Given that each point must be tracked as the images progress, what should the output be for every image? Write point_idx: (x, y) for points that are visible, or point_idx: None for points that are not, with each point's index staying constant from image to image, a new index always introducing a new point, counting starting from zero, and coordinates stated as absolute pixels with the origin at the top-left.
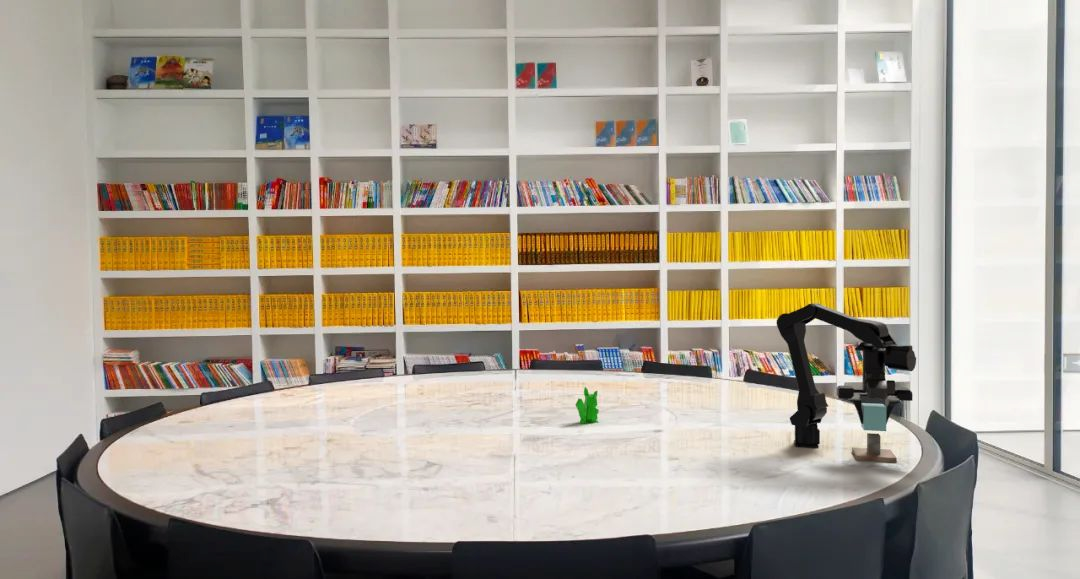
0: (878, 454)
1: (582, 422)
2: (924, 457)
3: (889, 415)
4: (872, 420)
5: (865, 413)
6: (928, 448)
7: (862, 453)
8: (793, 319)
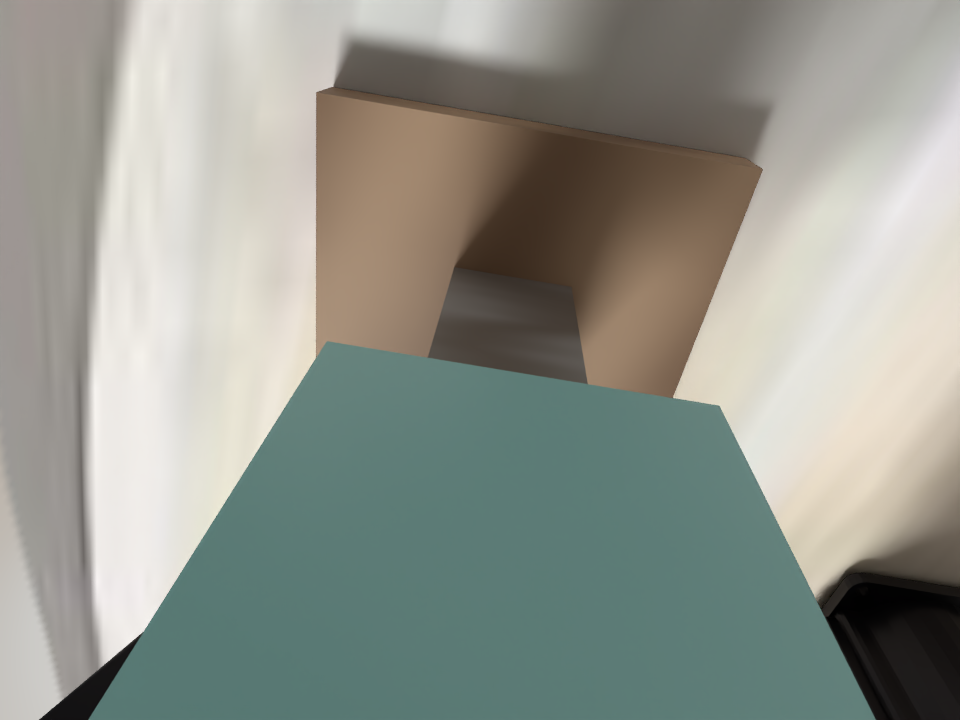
0: (479, 252)
1: None
2: (58, 316)
3: (86, 686)
4: (588, 533)
5: None
6: (43, 555)
7: (636, 288)
8: None
